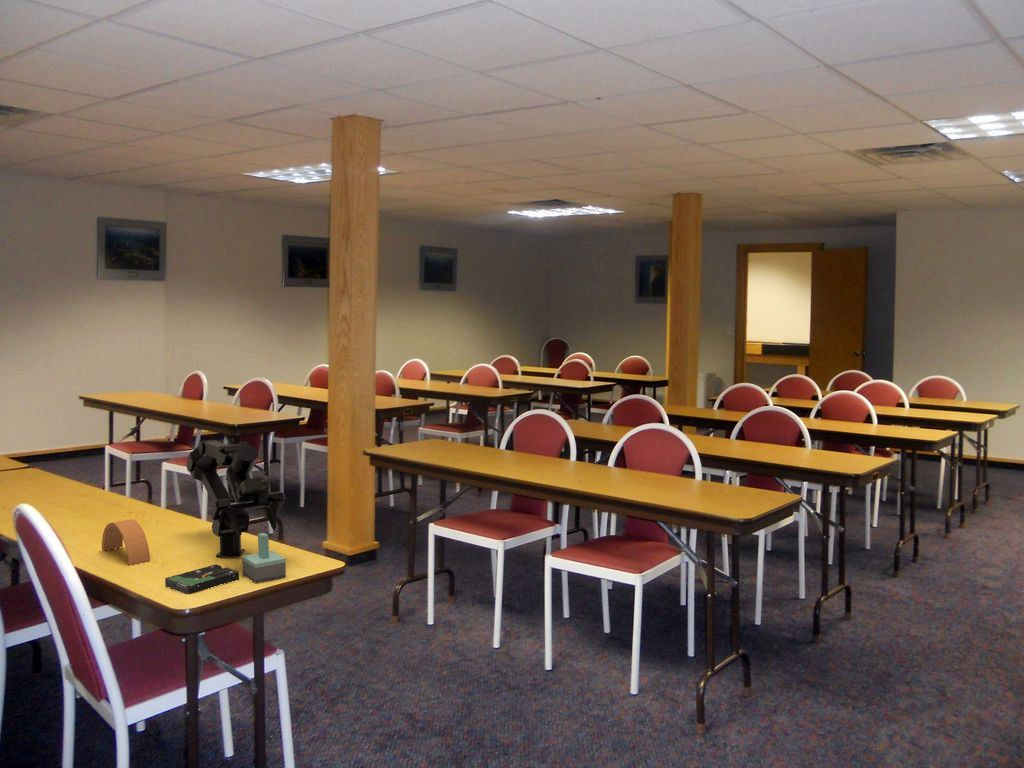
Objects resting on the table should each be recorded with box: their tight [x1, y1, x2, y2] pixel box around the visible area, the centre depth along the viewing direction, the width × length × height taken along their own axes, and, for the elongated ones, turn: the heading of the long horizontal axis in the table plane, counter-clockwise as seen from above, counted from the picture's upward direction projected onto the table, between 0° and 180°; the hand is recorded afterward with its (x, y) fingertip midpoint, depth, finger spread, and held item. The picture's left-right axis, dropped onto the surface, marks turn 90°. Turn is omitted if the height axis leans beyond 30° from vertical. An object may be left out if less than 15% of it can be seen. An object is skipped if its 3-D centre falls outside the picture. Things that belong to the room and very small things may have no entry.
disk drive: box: [164, 564, 240, 595], centre depth 220 cm, size 10×3×15 cm
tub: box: [241, 559, 287, 584], centre depth 226 cm, size 9×8×4 cm
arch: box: [101, 519, 151, 567], centre depth 243 cm, size 6×20×10 cm, turn 44°
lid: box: [241, 532, 286, 568], centre depth 225 cm, size 9×8×8 cm
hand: (257, 532), depth 228 cm, fingers open, 9 cm apart
